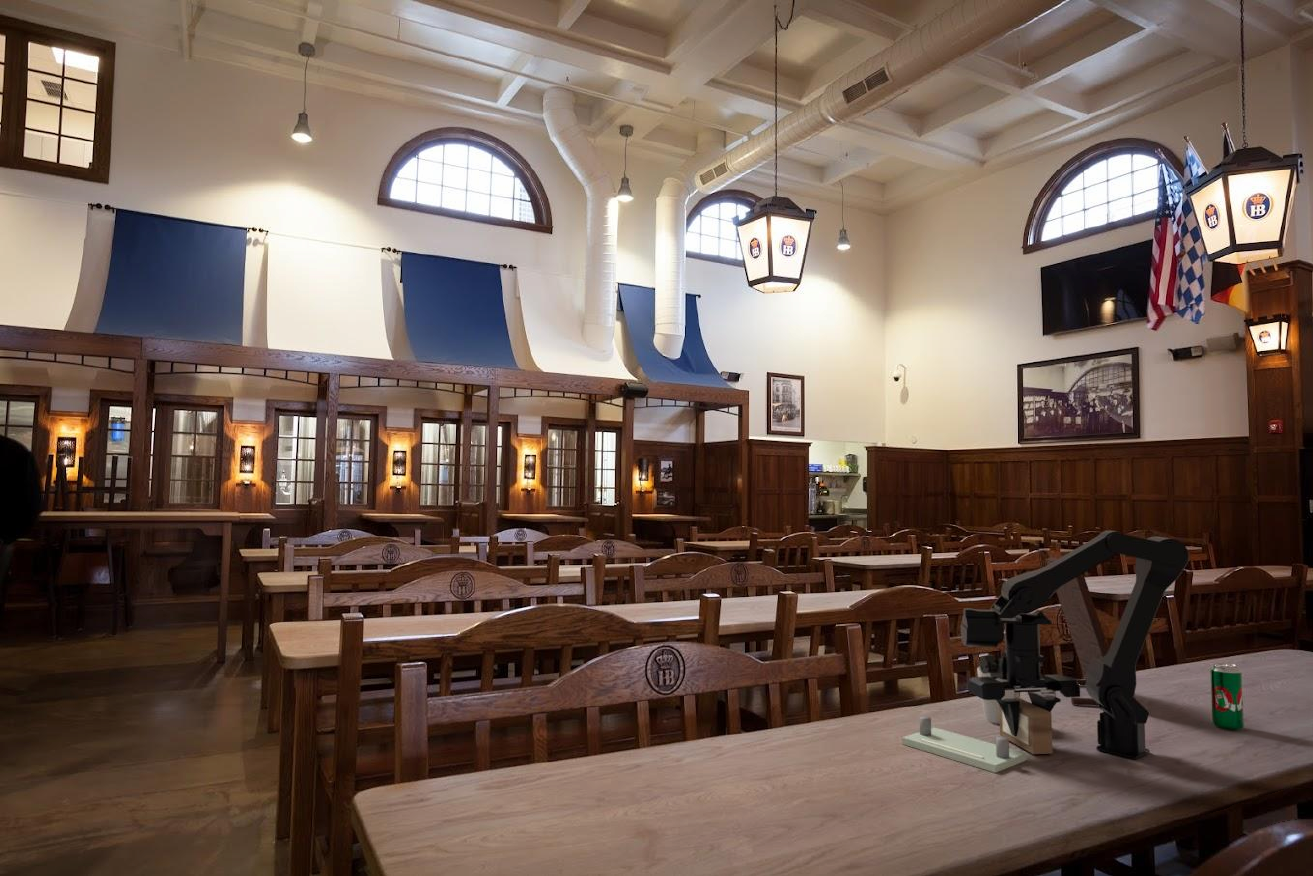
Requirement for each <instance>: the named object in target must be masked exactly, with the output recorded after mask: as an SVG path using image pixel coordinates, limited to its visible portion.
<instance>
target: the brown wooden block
mask: <svg viewBox="0 0 1313 876" xmlns="http://www.w3.org/2000/svg"><path fill="white" fill-rule="evenodd" d="M1015 699H1016V700H1019V701H1020V709H1019V725H1018V733H1017V736H1013V735H1012V734H1011V731H1010V729H1009V726H1008V724H1007V721H1006V718H1005V716H1004V713H1003V711H1002V709H1001V707H1000V705H999V713H1000V724H999V737H1006V738H1008V739H1009V742H1011V743H1013V744H1015V745H1016V746H1018V747H1020V748H1022V750H1023V749H1024V750H1025V751H1027V752H1029V753H1030V754H1032V755H1045V754H1046V755H1047V754H1050V755H1051V754H1053V753H1054V752H1053V724H1052V723H1053V721H1052V719H1053V717H1052V711H1051V712H1049V711H1047V710H1045V709H1042V708H1040V707H1038V706H1036V705H1034V704H1032V703H1031V702H1029V701H1027V700H1025V699H1023V698H1018V697H1015Z"/></svg>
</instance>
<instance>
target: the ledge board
mask: <svg viewBox="0 0 1313 876" xmlns="http://www.w3.org/2000/svg"><path fill="white" fill-rule="evenodd" d="M901 741H902V742H901V744H902V745H903V746H908V747H911V748H914V749H917V750H920V751H923V752H926V753H927V752H928V753H929V754H930V753H931V754H932V755H937V756H940V757H943V758H946V759H949V760H953V761H956V762H960V763H962V764H966V765H969V766H972V767H976V768H978V769H982V770H985V771H988V772H991V773H998V772H1001V771H1004V770H1006V769H1008V768H1011V767H1013V766H1015V765H1019V764H1021V763H1023V762H1026V761H1027V760H1028V755H1027V752H1024V751H1021V750H1017V749H1013V748H1010V741H1009V739H1008V738H1006V737H1002V736H996V737H995V743H991V742H987V741H984V740H981V739H978V738H974V737H971V736H967V735H963V734H959V733H956V732H952V731H949V730H946V729H943V728H937V727H934V726H933V727H932V717H930V716H924V715H921V716H919V731H918V732H915V733H912V734H908V735H906V736H903V737H902V738H901Z"/></svg>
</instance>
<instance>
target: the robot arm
mask: <svg viewBox="0 0 1313 876" xmlns="http://www.w3.org/2000/svg"><path fill="white" fill-rule="evenodd" d="M1117 555H1124V556H1127V557H1128V556H1129V557H1133V558H1135V583H1134V586H1133V588H1132V590H1131V593H1130V596H1129V598H1128V601H1127V603H1126V606H1125V608H1124V611H1123V613H1122V615H1121V618H1120V621H1119V623H1118V626H1117V628H1116V632H1115V634H1114V637H1113V639H1112V641H1111V644H1110V646H1109V651H1108V653H1107V654H1106V655H1105V656H1104V657H1103V658H1102V659H1101V660H1100V661H1099V660H1097V659H1095V658H1092V659H1091V661H1090V666H1089V670H1088V671H1087V673H1086V674H1085V675H1084V674H1083V679H1086V684H1085V690H1086V692H1087V694H1088V696H1089V697H1090V698H1092V699H1094V700H1095V701H1096V702H1097V704H1098V709H1099V710H1102V712H1100V713H1099V719H1098V720H1097V722H1096V726H1097V727H1096V730H1097V743H1098V745H1097V746H1096V751H1100V752H1103V753H1108V754H1112V755H1116V756H1120V757H1125V758H1128V759H1132V760H1137V759H1139V758H1141V757H1144V756H1145V755H1147V754H1150V753H1151V750H1150V749H1149V748H1146V747H1147V746H1146V726H1145V724H1146V723H1147V721H1148V719H1149V716H1150V711H1149V710H1148V709H1147V708H1146V707H1144V706H1143V705H1142V703H1140V702H1139V701H1138V700H1137V699H1136V698H1135V693H1136V689H1137V668H1136V667H1137V662H1138V660H1139V658H1140V655H1141V652H1142V650H1143V649H1144V648H1143V647H1144V645H1145V642H1146V641H1147V637H1148V634H1149V632H1150V630H1151V627H1152V624H1153V622H1154V619H1155V617H1156V614H1157V612H1158V610H1159V607H1160V604H1161V602H1162V599H1163V597H1164V595H1165V592H1166V590H1167V589H1168V588H1170V586H1172V585H1173V583H1174V582H1176V581H1177V580H1178V579H1179V577H1180V576H1181V575H1182V573H1183V571H1184V570H1185V568H1186V566H1187V565H1188V563H1189V560H1190V551H1189V550H1188V549H1187V547H1186V545H1185V544H1184V543H1183V542H1181V541H1180V540H1178V539H1174V538H1169V537H1164V536H1163V537H1162V536H1150V537H1147V538H1142V537H1137V536H1133V535H1130V534H1129V535H1128V534H1125V533H1122V532H1120V531H1116V530H1104V531H1101V532H1100V533H1099V534H1098V535H1097V536H1096V537H1094V538H1092V539H1091V540H1089V541H1087V542H1085V543H1084V544H1082V545H1080V546H1078V547H1077V548H1075V549H1074V550H1072V551H1070V552H1068V553H1066V554H1065V555H1063V556H1061V557H1059V558H1056V559H1057V560H1056V561H1054V562H1052V563H1051V564H1049V565H1047V564H1046V565H1045V566H1043V567H1041V568H1038V569H1035V570H1030V571H1028V572H1026V571H1025V572H1023V573H1020V574H1018V575H1016V576H1015V575H1014V576H1013V577H1011V578H1008V579H1007V580H1006V581H1004V582H1003V583H1002V587H1001V591H1000V593H1001V594H1000V595H999V597H997V598H996V600H995V602H994V603H993V604H992V605H991V606H990V608H989V609H974V608H971V607H969V608H968V607H966V608H965V607H964V608H963V614H962V619H961V623H960V635H961V636H960V637H961V641H962V644H963V646H965V647H981V648H982V647H983V648H985V647H987V648H988V647H989V648H997V647H998V645H999V644H1002V642H1005V645H1004V646H1005V650H1001V653H1000V658H999V659H998V658H997V659H995V657H994V655H992V654H991V655H989V654H988V655H981V656H979V667H980V668H981V672H982V673H990V676H991V677H978V676H972V677H971V678H970V679H969V681H968V682H967V689H968V691H967V692H968V693H970V694H971V695H973V696H976V697H978V698H979V699H980V700H981V699H984V700H996V701H997V702H998V703H999V705H1000V707H1001V709H1002V711H1003V713H1004V716H1005V718H1006V721H1007V724H1008V726H1009V729H1010V731H1011V734H1012V735H1013V736H1017V733H1018V725H1019V709H1020V701H1019V700H1016V699H1015V692H1020V693H1028V694H1027V695H1028V697H1029V700H1030V703H1031V704H1034V705H1036V706H1038V707H1040V708H1042V709H1045V710H1047V711H1049V712H1051V713H1052V711H1053V709H1054V707H1055V706H1056V704H1057V703H1061V700H1062V699H1061V698H1059V697H1057V693H1056V692H1059V693H1060V694H1061V695H1062V696H1063V697H1065V698H1072V697H1073V698H1081V687H1080V686H1081V685H1079V684H1078V683H1077V681H1076V680H1074V679H1075V678H1071V677H1067V676H1065V675H1063V674H1044V675H1043V676H1041V663H1045V662H1046V661H1045V660H1046V659H1045V657H1046V656H1044V655H1041V647H1040V646H1041V642H1040V641H1041V640H1040V625H1045V626H1047V625H1049V626H1050V625H1052V620H1050V618H1048V617H1047V616H1046V615H1045V614H1044V612H1043V611H1042V610H1040V607H1041V606H1042V605H1044V604H1046V603H1047V601H1049V599H1051V597H1052V596H1053V595H1054V594H1055V592H1056V590H1057V589H1058V588H1060V587H1061V586H1062V585H1064V584H1066V583H1067V582H1069V581H1071V580H1073V579H1074V578H1076V577H1078V576H1080V575H1081V574H1085V573H1086V572H1088V571H1090V570H1091V569H1093V568H1096V567H1097V566H1099V565H1100V564H1103V563H1105V562H1106V561H1108V560H1110V559H1111V558H1113V557H1115V556H1117ZM1034 611H1035V612H1034ZM1031 612H1033V613H1031ZM997 678H1000V679H1002V680H1006V682H1000V681H997V680H995V679H997ZM1014 686H1015V687H1014ZM1016 686H1017V687H1016ZM1018 686H1019V687H1018Z"/></svg>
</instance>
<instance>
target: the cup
mask: <svg viewBox="0 0 1313 876" xmlns="http://www.w3.org/2000/svg"><path fill="white" fill-rule="evenodd" d="M976 669H977V670H976V671H977V677H991V676H990V673H982V672H981V668H980V666H979V667H977V668H976ZM995 680H997V681H1000V682H1006V680H1002V679H1000V678H997V679H995ZM1014 687H1015V686H1014ZM1016 687H1017V686H1016ZM1018 687H1019V686H1018ZM1015 697H1018V698H1020V697H1021V692H1015ZM980 702H981V706H982V709H983V713H984V715H985V718H986V721H987V722H989V723H992V724H995V725H1000V713H999V703H998V702H997V701H996V700H984V699H981V698H980Z"/></svg>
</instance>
